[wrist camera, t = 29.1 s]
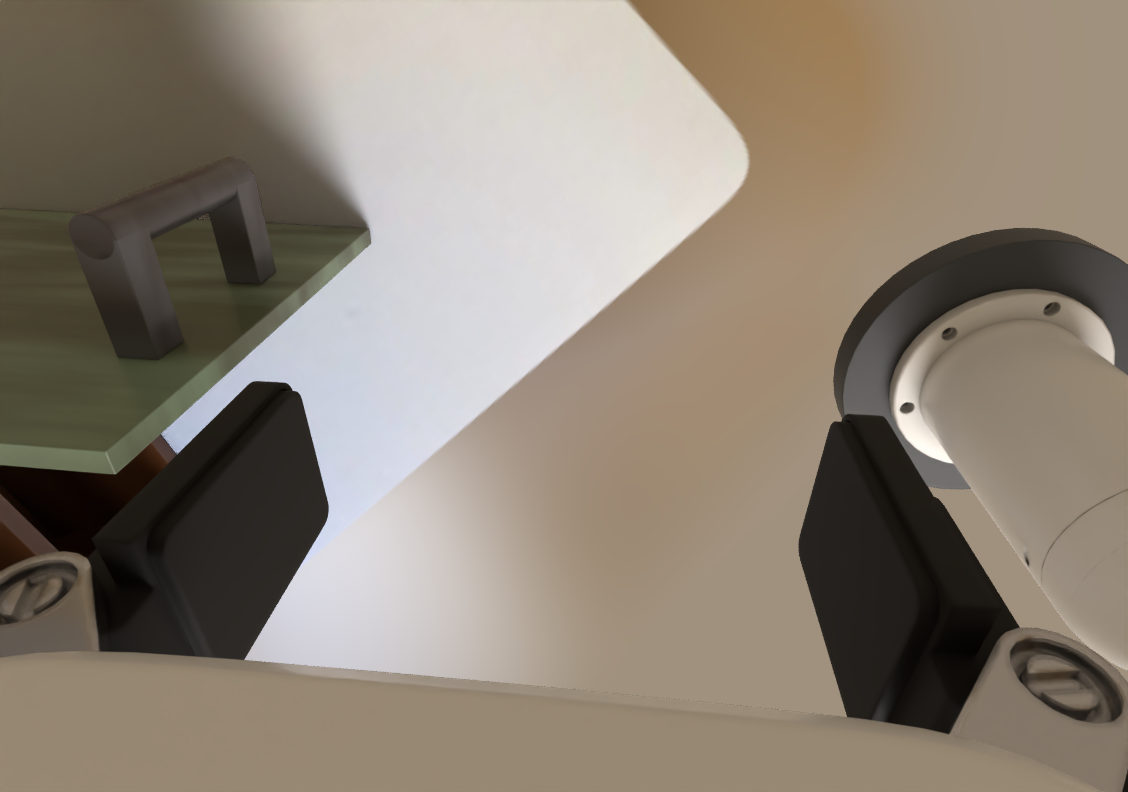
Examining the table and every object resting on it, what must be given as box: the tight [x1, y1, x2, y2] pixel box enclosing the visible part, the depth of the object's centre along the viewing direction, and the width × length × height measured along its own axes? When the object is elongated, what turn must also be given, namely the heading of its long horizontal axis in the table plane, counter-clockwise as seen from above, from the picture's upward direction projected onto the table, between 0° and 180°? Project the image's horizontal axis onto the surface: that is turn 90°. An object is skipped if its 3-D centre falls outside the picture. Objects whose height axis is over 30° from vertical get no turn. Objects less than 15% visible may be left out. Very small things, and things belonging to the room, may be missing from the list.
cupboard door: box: [0, 157, 371, 474], centre depth 30 cm, size 7×26×24 cm, turn 89°
